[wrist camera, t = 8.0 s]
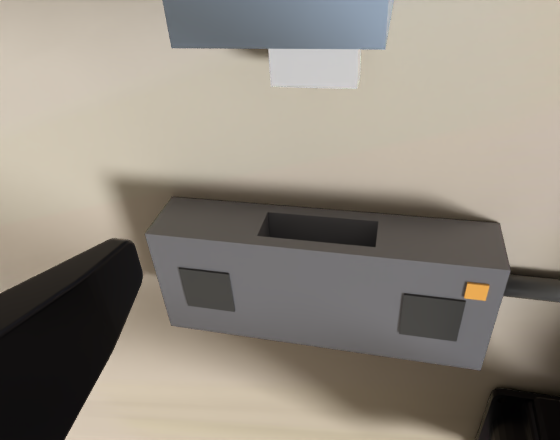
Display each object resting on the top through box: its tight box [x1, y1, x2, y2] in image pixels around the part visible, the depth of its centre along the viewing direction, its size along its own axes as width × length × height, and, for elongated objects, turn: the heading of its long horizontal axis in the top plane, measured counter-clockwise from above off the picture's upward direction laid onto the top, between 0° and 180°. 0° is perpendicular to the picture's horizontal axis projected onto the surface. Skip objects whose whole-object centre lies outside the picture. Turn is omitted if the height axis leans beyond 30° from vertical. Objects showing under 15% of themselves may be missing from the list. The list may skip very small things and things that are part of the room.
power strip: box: [145, 197, 560, 371], centre depth 22 cm, size 6×22×3 cm, turn 94°
